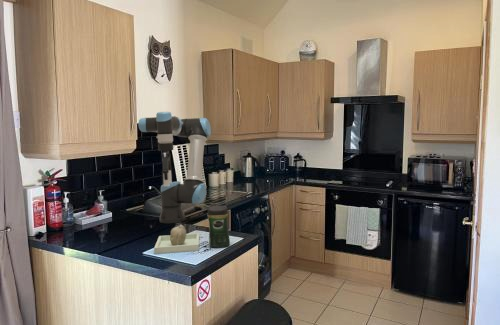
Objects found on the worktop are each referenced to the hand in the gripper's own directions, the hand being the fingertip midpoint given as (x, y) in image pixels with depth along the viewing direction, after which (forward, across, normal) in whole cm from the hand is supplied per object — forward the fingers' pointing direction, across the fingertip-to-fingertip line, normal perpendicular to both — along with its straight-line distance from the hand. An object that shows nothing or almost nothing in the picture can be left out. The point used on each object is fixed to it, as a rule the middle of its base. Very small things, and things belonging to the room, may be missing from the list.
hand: (167, 184), depth 196 cm
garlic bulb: (+26, +19, +5) cm, 33 cm away
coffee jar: (+27, +23, +24) cm, 43 cm away
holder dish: (+27, +19, +5) cm, 33 cm away
